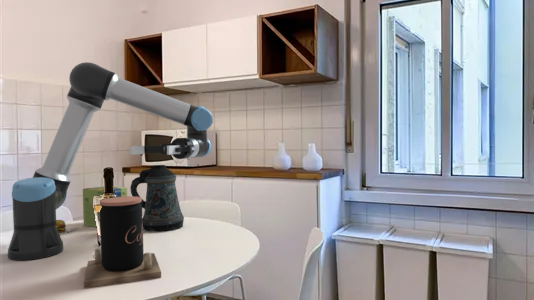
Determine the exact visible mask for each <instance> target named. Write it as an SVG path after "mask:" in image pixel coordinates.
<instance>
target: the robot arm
mask: <svg viewBox="0 0 534 300" xmlns="http://www.w3.org/2000/svg"><path fill="white" fill-rule="evenodd" d="M69 84H70V88H69V90H68V92H67V94H66V95H67V96H66V98H67V100H68V105H67V108H66V111H65V112H64V114H63V117H62V119H61V122H60V125H59V126H58V129H57V130H56V131H57V132H56V133H55V136H54V139H53V141H52V143H51V146H50V148H49V151H48V153H47V156H46V158H45V160H44V163H43V164H42V167H39V168H37V169H35V170H34V174H33V176H32V177H30V178H25V179H20V180H17V181H15V182H14V183H13V185H12V189H11V198H12V219H13V220H12V221H13V234H12V236H11V240H10V242H9V245H8V248H7V258H8V259H9V260H14V261H30V260H36V259H37V260H39V259H43V258H48V257H51V256H52V257H53V256H55V255H58V254H60V253H61V252H63V251H64V243H63V240H62V237H61V234H59V232H58V229H57V227H56V220H57V209H59V208H60V207H61V206H62V205H63V204H64V203H65V201H66V199H67V194H68V189H69V188H70V187H69V186H70V184H71V182H72V179H71V178H70V172H71V169H72V167H73V165H74V162H75V160H76V158H77V156H78V153H79V150H80V149H81V145H82V144H83V140H84V139H85V136H86V133H87V131H88V128H89V126H90V124H91V121H92V119H93V116H94V114H95V113H96V112H99V111H101V109H102V107H103V104H104V101H107V102H108V101H109V100H111V101H112V100H113V101H115V102H118V103H121V104H124V105H127V106H129V107H132V108H136V109H138V110H141V111H143V112H147V113H149V114H152V115H155V116H157V117H160V118H164V119H167V120H170V121H172V122H175V123H177V124H181V125H183V126H186V137H177V138H174V139H173V140H172V141H171V142H169V143H161V144H159V145H132V146H131V145H130V146H129V155H133V156H134V155H140V156H144V155H145V154H161V155H167V156H168V155H169V156H171V155H172V157H173V158H175V159H177V160H184V159H186V160H188V161H189V160H190V159H191V158H195V159H196V158H203V157H206V156H208V155H209V154H210V153H211V151H212V147H213V146H212V143H211V141H210V140H209V138H208V132H207V131H208V129H210V128H211V126H212V125H213V123H214V116H213V113H212V112H211V111H210V110H209V109H207V108H206V107H205V106H201V105H198V106H197V105H192V104H191V103H187V102H185V101H181V100H180V99H176V98H174V97H173V96H172V97H171V96H168V95H166V94H165V93H164V94H163V93H160V92H158V91H156V90H153V89H150V88H148V87H144V86H143V85H142V86H141V85H140V84H137V83H135V82H131V81H129V80H126V79H123V78H121V77H119V75H118V74H117V72H113V71H111V70H109V69H107V68H104V67H102V66H100V65H98V64H96V63H93V62H81V63H78V64H77V65H75V66H74V67H73V68H72V69H71V71H70V74H69Z"/></svg>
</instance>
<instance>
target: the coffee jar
mask: <svg viewBox="0 0 534 300" xmlns="http://www.w3.org/2000/svg"><path fill="white" fill-rule="evenodd" d="M142 199H143V198H142V197H141V196H140V197H134V196H132V195H131V196H129V195H127V196H125V197H113V198H106V199H102V200H100V205H101V206H102V208H101V210H100V228H99V229H100V231H99V232H100V248H101V263H102V266H103V267H104V269H105V270H107V271H112V272H120V271H127V270H132V269H135V268H137V267H139V266H140V265H141V264H142V262H143V260H144V253H145V252H144V230H143V220H142V219H143V208H142V206H141V205H140V203H141V201H142Z"/></svg>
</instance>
